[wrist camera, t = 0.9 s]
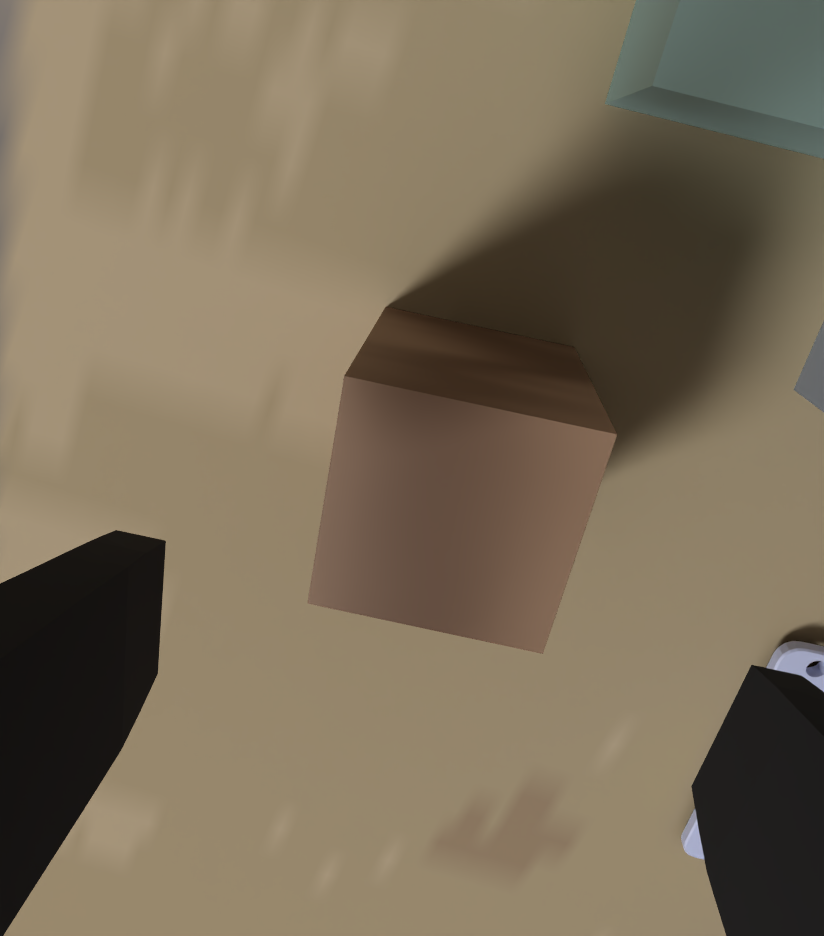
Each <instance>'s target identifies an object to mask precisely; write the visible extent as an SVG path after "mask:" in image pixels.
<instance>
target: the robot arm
mask: <svg viewBox="0 0 824 936" xmlns="http://www.w3.org/2000/svg"><path fill="white" fill-rule="evenodd" d="M165 543H166V541H164V540H160V539H155V538H150V537H146V536H141V535H136V534H131V533H127V532H122V531H117V530H116V531H113V532H111V533H108V534H106V535H103V536H101V537H99V538H96V539H94V540H92V541H90V542H87V543H85V544H83V545H81V546H79V547H77V548H75V549H72V550H70V551H68V552H66V553H64V554H62V555H60V556H58V557H56V558H53V559H51V560H49V561H47V562H45V563H43V564H41V565H39V566H37V567H35V568H33V569H30V570H28V571H26V572H24V573H22V574H20V575H18V576H16V577H13V578H11V579H9V580H7V581H5V582H3V583H1V584H0V936H3V935H4V933H5V932H6V930H7V929H8V927H9V926H10V924H11V923H12V921H13V919H14V918H15V916H16V915H17V913H18V912H19V910H20V908H21V907H22V905H23V904H24V902H25V901H26V899H27V898H28V896H29V894H30V893H31V891H32V890H33V888H34V887H35V885H36V883H37V882H38V880H39V879H40V877H41V876H42V874H43V872H44V871H45V869H46V868H47V866H48V865H49V863H50V862H51V860H52V858H53V857H54V855H55V854H56V852H57V851H58V849H59V847H60V846H61V844H62V843H63V841H64V840H65V838H66V836H67V835H68V833H69V832H70V830H71V829H72V827H73V826H74V824H75V822H76V821H77V819H78V818H79V816H80V815H81V813H82V811H83V810H84V808H85V807H86V805H87V804H88V802H89V800H90V799H91V797H92V796H93V794H94V792H95V791H96V789H97V788H98V786H99V784H100V783H101V781H102V780H103V778H104V777H105V775H106V773H107V772H108V770H109V769H110V767H111V765H112V764H113V762H114V761H115V759H116V757H117V756H118V754H119V752H120V751H121V749H122V747H123V745H124V743H125V741H126V739H127V737H128V735H129V733H130V731H131V729H132V727H133V725H134V723H135V721H136V719H137V717H138V715H139V713H140V711H141V708H142V706H143V704H144V702H145V700H146V698H147V696H148V693H149V691H150V689H151V687H152V685H153V683H154V680H155V678H156V676H157V674H158V660H159V643H160V626H161V610H162V593H163V577H164V560H165ZM814 661H820V662H819V663H818V664H817V665H815V666H813V667H807V666H808V665H809V664H810V663H812V662H814ZM692 792H693V798H694V804H695V809H694V811H693V813H692V815H691V817H690V819H689V821H688V823H687V825H686V827H685V829H684V831H683V833H682V836H681V840H682V844H683V847H684V850H685V852H686V853H687V854H688V855H690V856H693V857H696V858H700V859H705V864H706V869H707V873H708V877H709V880H710V884H711V887H712V890H713V894H714V897H715V900H716V904H717V907H718V910H719V913H720V916H721V920H722V923H723V926H724V929H725V933H726V936H824V646H820V645H815V644H810V643H806V642H801V641H790V642H787V643H784V644H782V645H781V646H779V647H778V648H777V649H776V650H775V652H774V653H773V655H772V657H771V659H770V661H769V663H768V665H767V667H766V668H764V667H759V666H754V665H751V667H750V669H749V671H748V673H747V675H746V677H745V679H744V681H743V683H742V685H741V687H740V689H739V692H738V694H737V696H736V698H735V700H734V702H733V704H732V706H731V708H730V710H729V712H728V714H727V716H726V718H725V720H724V722H723V724H722V726H721V728H720V730H719V732H718V734H717V736H716V738H715V740H714V742H713V744H712V746H711V748H710V750H709V752H708V754H707V756H706V758H705V760H704V762H703V764H702V766H701V768H700V770H699V772H698V774H697V776H696V778H695V780H694V782H693V784H692Z"/></svg>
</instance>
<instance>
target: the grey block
mask: <svg viewBox="0 0 824 936" xmlns="http://www.w3.org/2000/svg"><path fill="white" fill-rule="evenodd" d="M794 390H795V391H796V392H797V393H799V394H800V395H801V396H803V397H804V398H805V399H807V400H808V401H809V402H811V403H812V404H813V405H815V406H816V407H817V408H819V409H820V410H821V411H823V412H824V322H823V324H822V326H821V328H820V331H819V333H818V335H817V338H816V340H815V342H814V344H813V347H812V349H811V351H810V354H809V356H808V358H807V360H806V363H805V365H804V367H803V370H802V372H801V374H800V376H799V379H798V381H797V383H796V386H795V388H794Z"/></svg>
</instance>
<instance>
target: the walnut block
mask: <svg viewBox="0 0 824 936" xmlns="http://www.w3.org/2000/svg"><path fill="white" fill-rule="evenodd" d="M616 437H617V433H616V431H615V429H614V427H613V425H612V423H611V421H610V419H609V417H608V415H607V413H606V411H605V409H604V407H603V405H602V403H601V400H600V398H599V396H598V394H597V392H596V390H595V388H594V386H593V384H592V382H591V380H590V378H589V376H588V374H587V372H586V370H585V368H584V366H583V364H582V362H581V360H580V358H579V356H578V354H577V352H576V350H575V348H574V347H571V346H566V345H562V344H557V343H552V342H548V341H543V340H538V339H534V338H529V337H524V336H520V335H515V334H510V333H506V332H501V331H496V330H492V329H487V328H482V327H478V326H473V325H468V324H464V323H459V322H454V321H450V320H445V319H440V318H436V317H431V316H426V315H422V314H417V313H412V312H408V311H403V310H398V309H394V308H389V307H385V309H384V311H383V312H382V314H381V316H380V317H379V319H378V321H377V322H376V324H375V326H374V327H373V329H372V331H371V332H370V334H369V336H368V337H367V339H366V341H365V342H364V344H363V346H362V347H361V349H360V351H359V352H358V354H357V356H356V357H355V359H354V361H353V362H352V364H351V366H350V367H349V369H348V371H347V372H346V374H345V376H344V382H343V388H342V394H341V400H340V406H339V412H338V418H337V425H336V431H335V437H334V443H333V449H332V455H331V462H330V468H329V474H328V480H327V486H326V492H325V498H324V505H323V511H322V517H321V523H320V529H319V535H318V542H317V548H316V554H315V560H314V566H313V572H312V578H311V585H310V591H309V597H308V604H313V605H317V606H322V607H327V608H331V609H336V610H341V611H345V612H350V613H355V614H360V615H364V616H369V617H374V618H378V619H383V620H388V621H392V622H397V623H402V624H406V625H411V626H416V627H420V628H425V629H430V630H434V631H439V632H444V633H448V634H453V635H458V636H462V637H467V638H472V639H476V640H481V641H486V642H490V643H495V644H500V645H504V646H509V647H514V648H518V649H523V650H528V651H532V652H537V653H542V654H543V652H544V649H545V646H546V643H547V640H548V637H549V634H550V631H551V628H552V625H553V622H554V619H555V616H556V614H557V611H558V608H559V605H560V602H561V599H562V596H563V593H564V590H565V587H566V584H567V581H568V578H569V575H570V572H571V569H572V566H573V563H574V561H575V558H576V555H577V552H578V549H579V546H580V543H581V540H582V537H583V534H584V531H585V528H586V525H587V522H588V519H589V516H590V513H591V511H592V508H593V505H594V502H595V499H596V496H597V493H598V490H599V487H600V484H601V481H602V478H603V475H604V472H605V469H606V466H607V463H608V460H609V458H610V455H611V452H612V449H613V446H614V443H615V440H616Z"/></svg>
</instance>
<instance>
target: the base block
mask: <svg viewBox="0 0 824 936" xmlns="http://www.w3.org/2000/svg"><path fill="white" fill-rule="evenodd" d="M605 104H607V105H611V106H615V107H619V108H623V109H627V110H631V111H635V112H639V113H643V114H647V115H651V116H655V117H659V118H663V119H667V120H671V121H675V122H679V123H683V124H687V125H691V126H695V127H699V128H703V129H707V130H711V131H715V132H719V133H723V134H727V135H731V136H735V137H739V138H743V139H747V140H751V141H755V142H759V143H763V144H767V145H771V146H775V147H779V148H783V149H787V150H791V151H795V152H799V153H803V154H807V155H811V156H815V157H819V158H823V159H824V0H636V3H635V6H634V9H633V13H632V16H631V19H630V23H629V26H628V29H627V33H626V36H625V39H624V42H623V46H622V49H621V52H620V56H619V59H618V62H617V66H616V69H615V72H614V76H613V79H612V82H611V86H610V89H609V92H608V95H607V99H606V102H605Z"/></svg>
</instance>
